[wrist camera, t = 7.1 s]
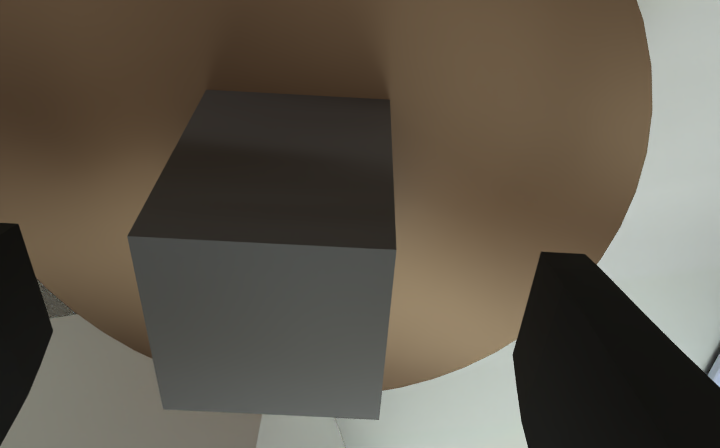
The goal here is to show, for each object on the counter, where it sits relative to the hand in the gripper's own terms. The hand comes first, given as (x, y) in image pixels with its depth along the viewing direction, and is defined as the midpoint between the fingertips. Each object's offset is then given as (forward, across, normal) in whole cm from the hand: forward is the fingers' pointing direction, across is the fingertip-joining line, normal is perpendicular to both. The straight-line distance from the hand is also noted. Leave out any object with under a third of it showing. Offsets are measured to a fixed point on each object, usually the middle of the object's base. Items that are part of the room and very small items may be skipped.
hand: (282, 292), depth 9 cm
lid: (+4, 0, 0) cm, 4 cm away
